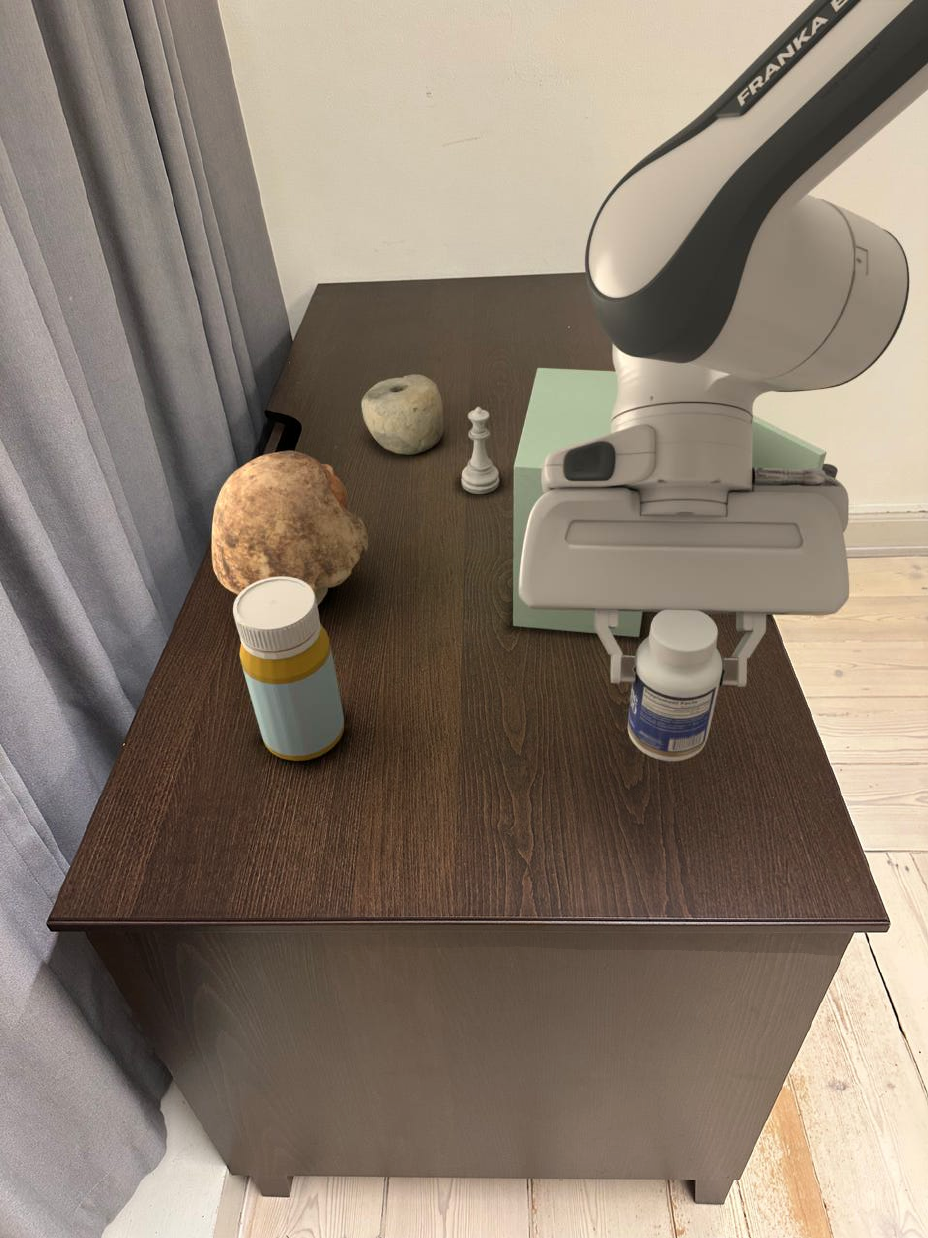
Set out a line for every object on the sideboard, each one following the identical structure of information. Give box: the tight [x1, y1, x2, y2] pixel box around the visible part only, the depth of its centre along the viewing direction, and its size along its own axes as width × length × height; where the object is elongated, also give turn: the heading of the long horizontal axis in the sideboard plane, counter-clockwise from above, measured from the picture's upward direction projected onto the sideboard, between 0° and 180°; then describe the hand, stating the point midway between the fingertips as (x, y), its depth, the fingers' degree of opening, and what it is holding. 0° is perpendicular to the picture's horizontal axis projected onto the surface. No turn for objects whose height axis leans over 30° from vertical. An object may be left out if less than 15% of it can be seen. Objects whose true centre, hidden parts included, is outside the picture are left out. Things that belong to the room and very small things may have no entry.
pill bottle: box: [627, 609, 723, 762], centre depth 57 cm, size 5×5×10 cm
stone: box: [360, 373, 444, 456], centre depth 110 cm, size 10×10×10 cm
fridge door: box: [752, 414, 839, 486], centre depth 86 cm, size 7×18×18 cm, turn 35°
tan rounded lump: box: [211, 450, 369, 607], centre depth 85 cm, size 15×16×15 cm
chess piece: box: [461, 406, 500, 495], centre depth 101 cm, size 4×4×10 cm
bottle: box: [232, 577, 345, 762], centre depth 71 cm, size 7×7×15 cm
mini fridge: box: [512, 367, 643, 638], centre depth 85 cm, size 12×18×18 cm, turn 170°
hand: (676, 685), depth 56 cm, fingers closed on pill bottle, 5 cm apart
